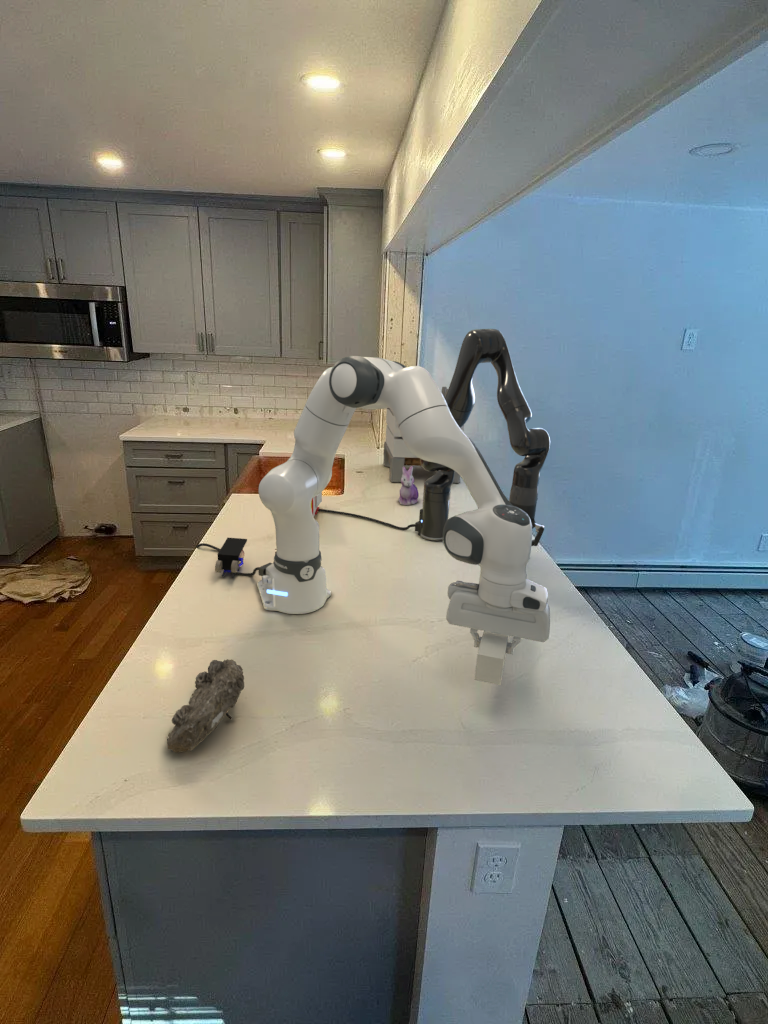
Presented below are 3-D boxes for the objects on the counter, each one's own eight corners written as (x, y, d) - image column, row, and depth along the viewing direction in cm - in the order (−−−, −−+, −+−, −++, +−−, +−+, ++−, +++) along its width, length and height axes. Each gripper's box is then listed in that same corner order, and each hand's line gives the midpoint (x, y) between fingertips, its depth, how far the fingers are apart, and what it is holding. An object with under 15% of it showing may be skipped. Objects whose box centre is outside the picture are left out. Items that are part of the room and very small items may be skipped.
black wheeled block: (238, 584, 162) (249, 557, 175) (236, 562, 158) (247, 536, 172) (215, 584, 161) (227, 556, 175) (212, 561, 158) (225, 535, 171)
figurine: (404, 507, 227) (406, 470, 222) (392, 499, 235) (393, 464, 230) (424, 504, 231) (426, 468, 226) (411, 496, 239) (413, 462, 234)
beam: (508, 550, 171) (510, 532, 169) (525, 552, 170) (527, 534, 168) (474, 680, 109) (477, 653, 107) (500, 685, 108) (503, 659, 106)
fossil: (192, 660, 117) (244, 628, 112) (224, 691, 120) (276, 661, 115) (142, 746, 98) (202, 712, 93) (182, 779, 101) (242, 748, 96)
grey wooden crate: (382, 463, 289) (386, 382, 275) (445, 464, 293) (451, 384, 279) (390, 482, 257) (394, 392, 243) (460, 483, 261) (468, 394, 247)
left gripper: (445, 586, 110) (440, 647, 114) (554, 605, 104) (544, 668, 109) (451, 572, 115) (446, 631, 120) (555, 590, 110) (545, 651, 115)
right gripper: (495, 500, 156) (488, 556, 162) (549, 507, 152) (540, 565, 158) (498, 492, 163) (492, 547, 168) (550, 499, 159) (541, 555, 165)
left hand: (493, 649), depth 115 cm, fingers closed on beam, 5 cm apart
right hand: (515, 555), depth 163 cm, fingers closed on beam, 5 cm apart
